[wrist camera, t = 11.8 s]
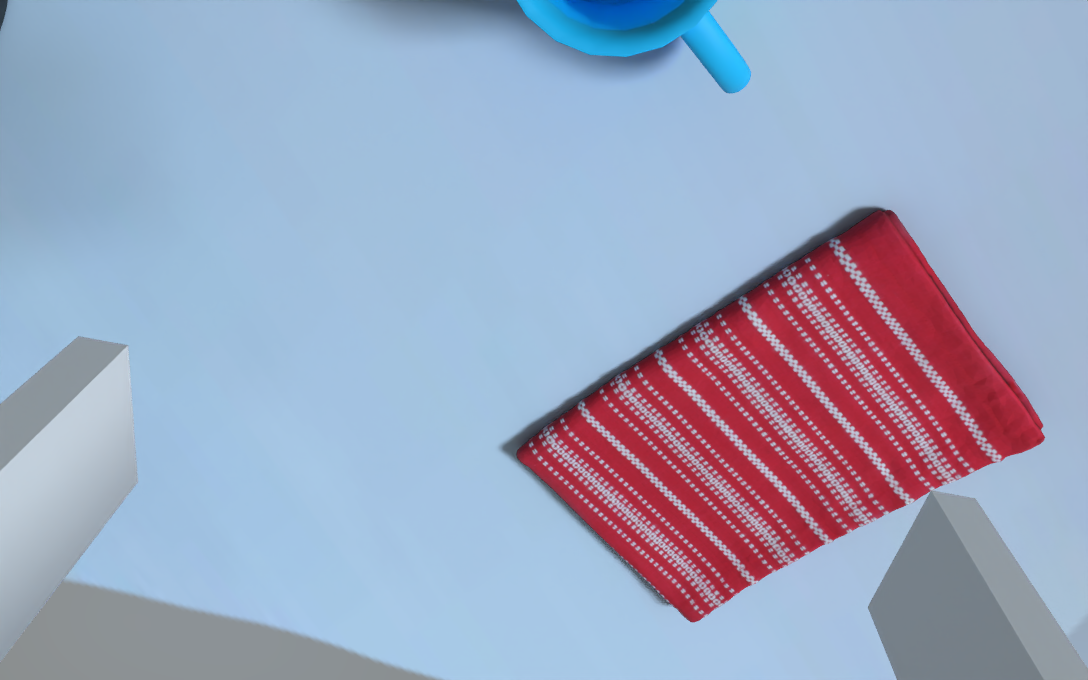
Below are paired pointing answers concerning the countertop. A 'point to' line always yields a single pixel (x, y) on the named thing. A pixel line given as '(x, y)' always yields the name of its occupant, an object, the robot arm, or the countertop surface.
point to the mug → (642, 31)
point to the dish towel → (786, 420)
